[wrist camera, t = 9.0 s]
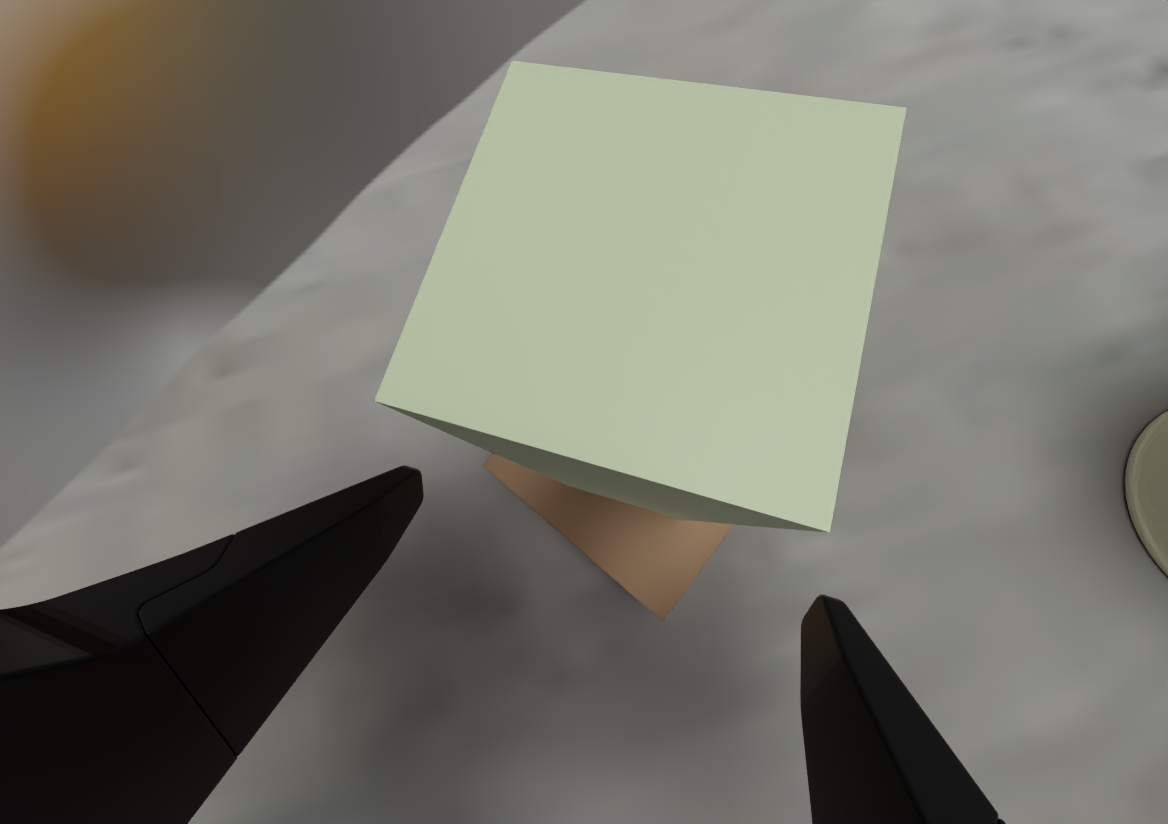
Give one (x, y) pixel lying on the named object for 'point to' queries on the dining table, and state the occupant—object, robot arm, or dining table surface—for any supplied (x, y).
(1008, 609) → the dining table surface
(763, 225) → the sage post
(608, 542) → the walnut slab
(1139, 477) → the can
